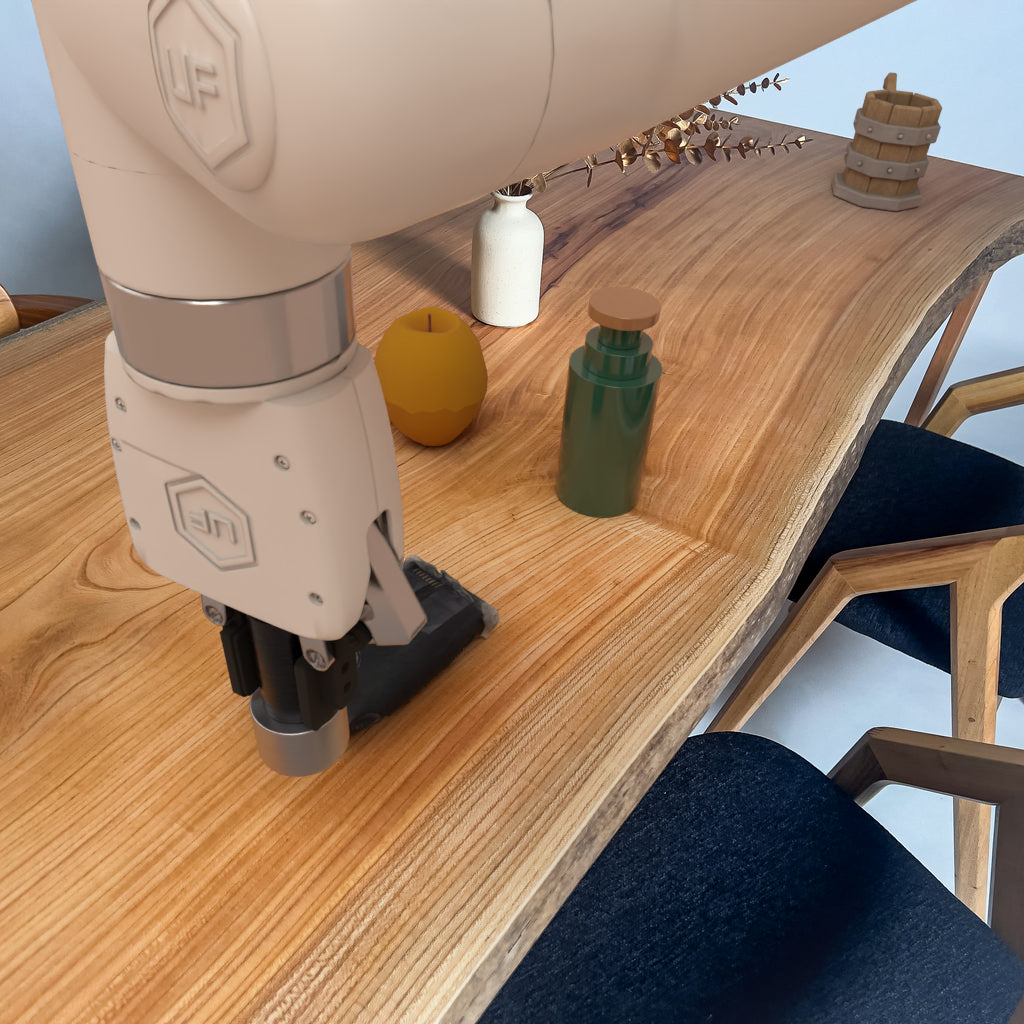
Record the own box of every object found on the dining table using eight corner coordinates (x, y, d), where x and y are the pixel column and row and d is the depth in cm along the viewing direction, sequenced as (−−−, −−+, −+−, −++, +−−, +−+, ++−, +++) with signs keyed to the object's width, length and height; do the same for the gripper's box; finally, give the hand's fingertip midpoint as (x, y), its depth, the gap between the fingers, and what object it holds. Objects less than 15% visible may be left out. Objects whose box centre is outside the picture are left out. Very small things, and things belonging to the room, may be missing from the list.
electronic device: (396, 590, 67) (221, 683, 56) (410, 533, 63) (227, 621, 53) (487, 668, 63) (317, 785, 52) (507, 612, 59) (330, 724, 49)
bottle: (656, 501, 75) (694, 311, 64) (588, 527, 71) (616, 332, 61) (604, 458, 79) (632, 274, 68) (538, 481, 76) (556, 292, 65)
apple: (387, 399, 84) (383, 281, 77) (490, 409, 84) (496, 291, 77) (365, 459, 77) (358, 334, 69) (478, 470, 76) (484, 346, 69)
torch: (364, 752, 42) (351, 611, 36) (278, 792, 40) (250, 651, 35) (327, 692, 45) (309, 553, 39) (244, 727, 43) (214, 586, 37)
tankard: (922, 215, 133) (960, 107, 123) (834, 204, 134) (864, 96, 125) (906, 173, 148) (938, 74, 139) (827, 164, 150) (853, 65, 140)
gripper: (-43, 290, 29) (94, 678, 40) (387, 431, 24) (408, 835, 35) (133, 220, 34) (211, 580, 46) (516, 321, 29) (498, 702, 40)
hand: (295, 687), depth 40 cm, fingers closed on torch, 3 cm apart
